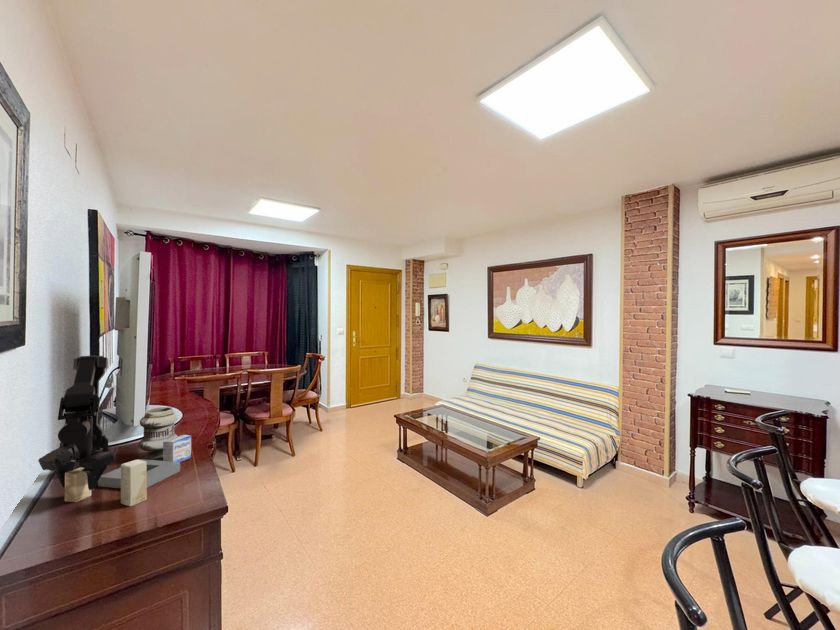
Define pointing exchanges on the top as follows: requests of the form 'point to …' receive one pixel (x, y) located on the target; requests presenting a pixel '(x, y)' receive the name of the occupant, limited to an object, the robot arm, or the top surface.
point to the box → (133, 482)
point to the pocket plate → (154, 473)
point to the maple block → (76, 485)
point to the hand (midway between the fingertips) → (78, 488)
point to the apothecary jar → (157, 431)
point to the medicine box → (177, 449)
